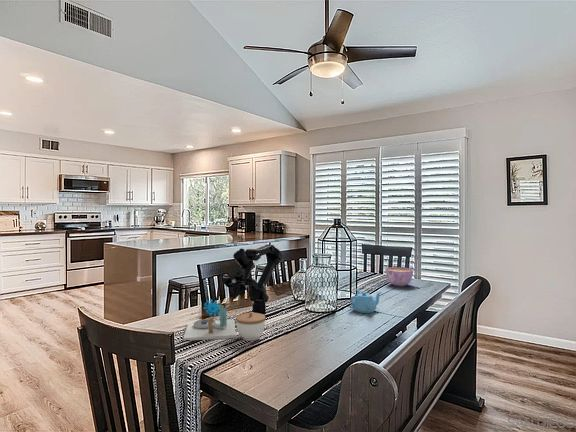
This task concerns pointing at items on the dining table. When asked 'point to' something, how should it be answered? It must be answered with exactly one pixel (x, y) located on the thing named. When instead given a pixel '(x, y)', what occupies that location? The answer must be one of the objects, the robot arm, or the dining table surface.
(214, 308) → the gear
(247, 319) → the lidded bowl
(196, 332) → the clock board
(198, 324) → the flange plate
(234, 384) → the dining table surface
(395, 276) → the bowl of food
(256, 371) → the dining table surface
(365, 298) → the teapot
